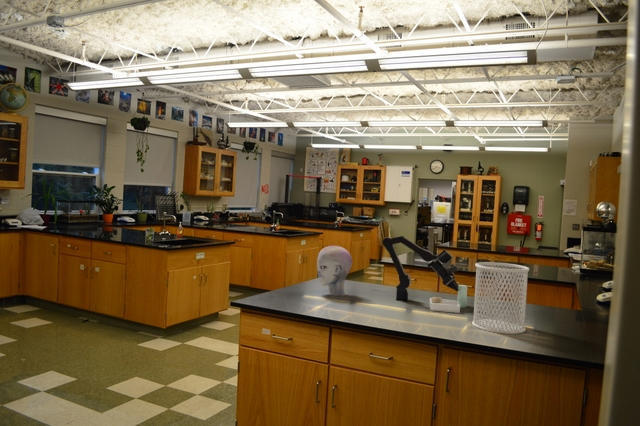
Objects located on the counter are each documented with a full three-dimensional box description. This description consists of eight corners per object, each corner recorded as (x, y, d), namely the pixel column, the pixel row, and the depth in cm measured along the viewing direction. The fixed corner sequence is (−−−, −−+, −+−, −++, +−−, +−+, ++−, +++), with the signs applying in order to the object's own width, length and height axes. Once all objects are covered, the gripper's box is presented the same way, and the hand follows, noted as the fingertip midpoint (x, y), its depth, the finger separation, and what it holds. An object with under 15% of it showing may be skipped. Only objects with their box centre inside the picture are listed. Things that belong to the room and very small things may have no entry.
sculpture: (324, 298, 274) (326, 247, 273) (308, 291, 292) (311, 244, 291) (356, 296, 285) (359, 247, 284) (339, 289, 303) (341, 243, 302)
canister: (457, 306, 268) (458, 286, 268) (456, 305, 273) (457, 284, 273) (466, 307, 267) (467, 286, 267) (465, 305, 272) (466, 285, 272)
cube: (432, 307, 260) (432, 298, 260) (432, 305, 265) (432, 296, 265) (441, 308, 259) (442, 299, 259) (441, 306, 264) (441, 297, 264)
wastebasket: (506, 336, 211) (510, 270, 210) (461, 323, 231) (464, 263, 230) (536, 329, 226) (539, 268, 225) (491, 318, 246) (494, 261, 245)
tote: (430, 310, 256) (430, 303, 256) (429, 305, 270) (429, 298, 270) (459, 313, 253) (460, 305, 253) (457, 307, 267) (457, 300, 267)
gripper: (449, 261, 263) (469, 283, 260) (451, 258, 281) (469, 278, 278) (434, 274, 266) (453, 295, 263) (436, 270, 283) (455, 290, 280)
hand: (458, 289), depth 271 cm, fingers open, 9 cm apart
